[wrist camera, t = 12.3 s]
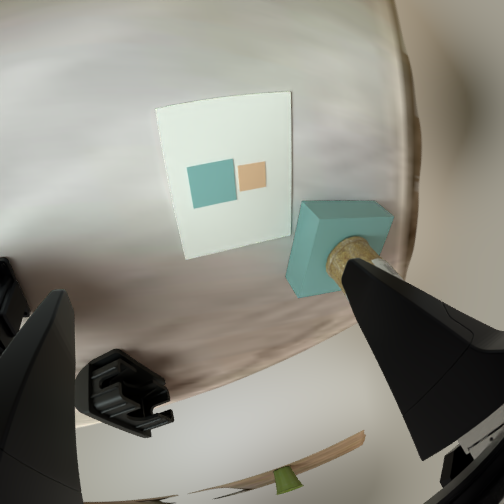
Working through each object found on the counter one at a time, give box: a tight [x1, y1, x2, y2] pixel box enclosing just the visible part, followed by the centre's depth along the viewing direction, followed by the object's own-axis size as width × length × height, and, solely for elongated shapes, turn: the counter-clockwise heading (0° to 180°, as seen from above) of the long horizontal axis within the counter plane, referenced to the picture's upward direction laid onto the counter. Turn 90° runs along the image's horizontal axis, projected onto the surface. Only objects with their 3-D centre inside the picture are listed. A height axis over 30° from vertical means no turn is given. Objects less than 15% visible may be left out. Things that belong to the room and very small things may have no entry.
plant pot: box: [274, 466, 303, 495], centre depth 94 cm, size 12×12×11 cm
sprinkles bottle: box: [326, 236, 404, 301], centre depth 20 cm, size 5×5×14 cm
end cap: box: [75, 349, 174, 438], centre depth 28 cm, size 10×7×7 cm
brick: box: [285, 201, 394, 298], centre depth 26 cm, size 8×8×3 cm
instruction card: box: [155, 91, 291, 260], centre depth 21 cm, size 9×12×1 cm
